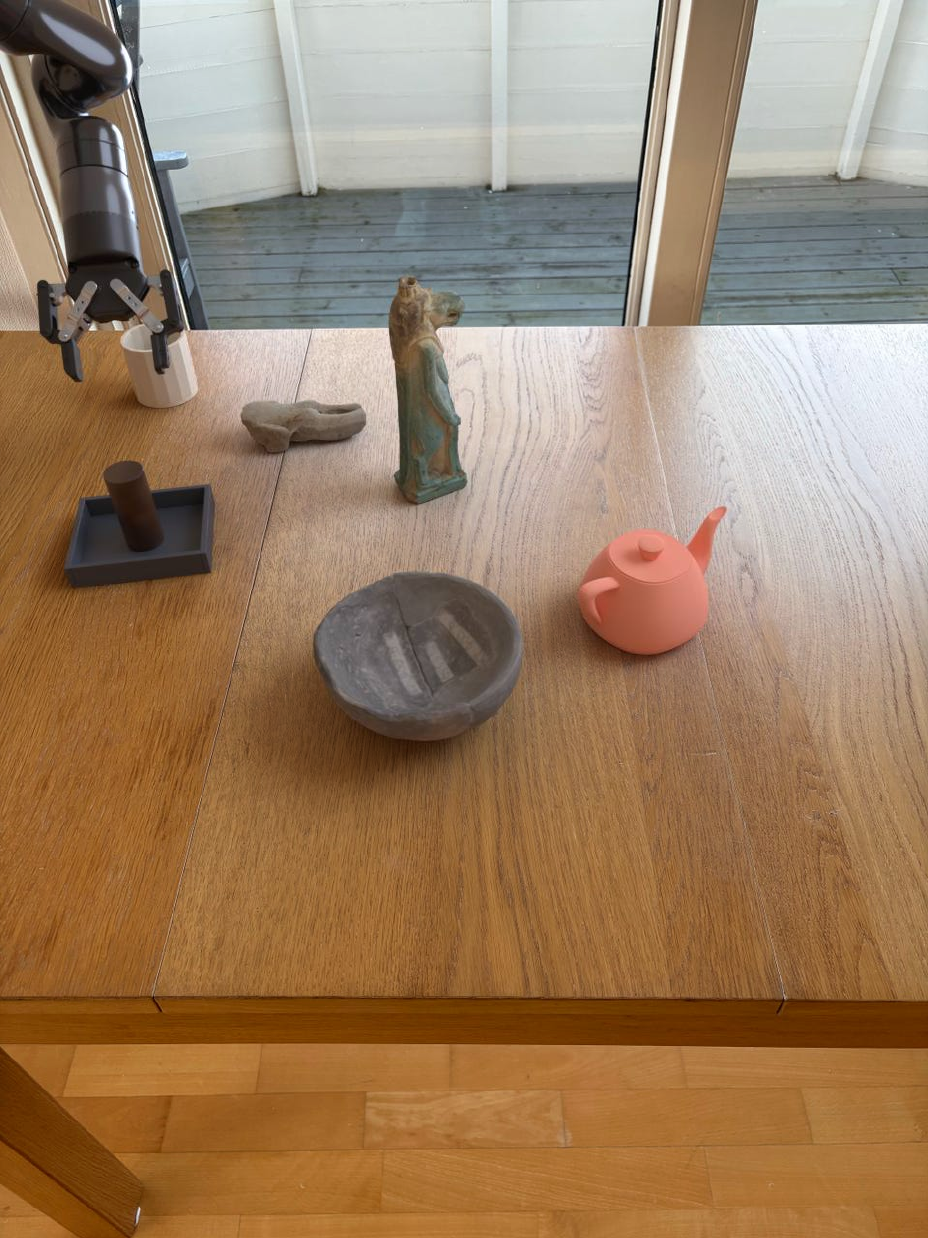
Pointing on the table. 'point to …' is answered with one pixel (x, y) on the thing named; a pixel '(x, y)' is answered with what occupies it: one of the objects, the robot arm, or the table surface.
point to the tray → (109, 560)
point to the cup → (146, 382)
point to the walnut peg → (134, 505)
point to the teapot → (649, 588)
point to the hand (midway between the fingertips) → (119, 376)
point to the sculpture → (300, 422)
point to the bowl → (419, 655)
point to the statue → (424, 392)
